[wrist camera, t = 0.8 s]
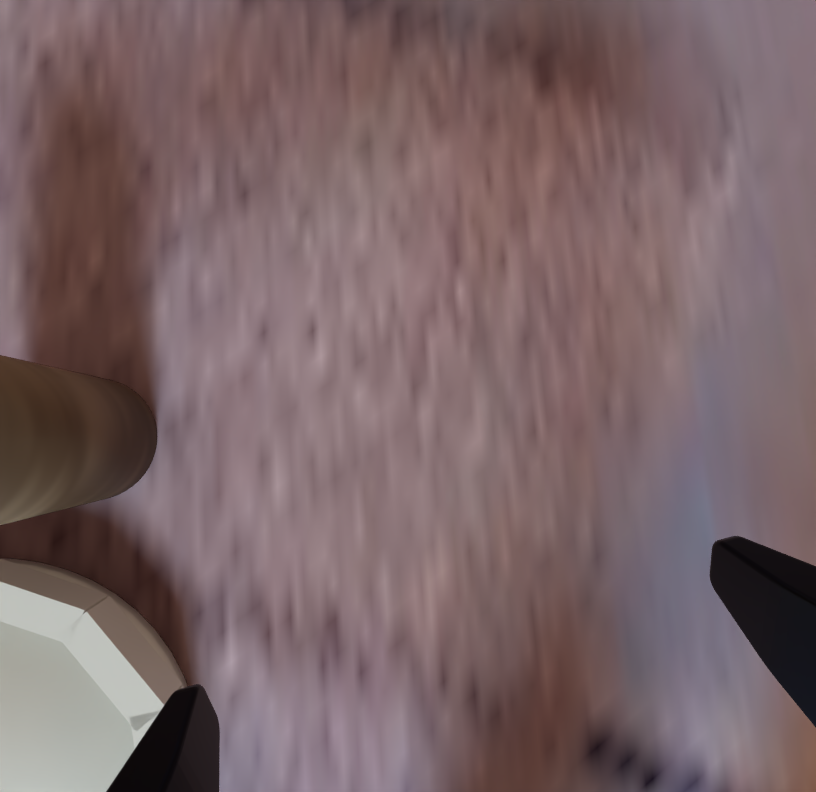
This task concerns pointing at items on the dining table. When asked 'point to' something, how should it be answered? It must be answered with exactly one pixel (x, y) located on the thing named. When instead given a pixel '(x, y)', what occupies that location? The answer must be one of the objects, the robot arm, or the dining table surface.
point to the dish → (73, 680)
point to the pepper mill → (67, 439)
